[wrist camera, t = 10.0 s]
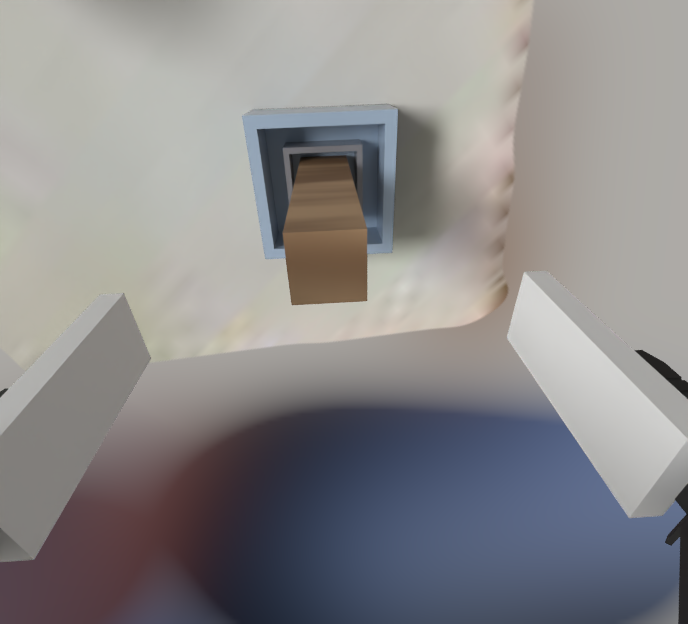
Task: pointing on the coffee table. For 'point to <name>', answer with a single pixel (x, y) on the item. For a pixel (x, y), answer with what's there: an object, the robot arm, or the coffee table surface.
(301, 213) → the long wooden beam
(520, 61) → the coffee table surface
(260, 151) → the light blue square bin
